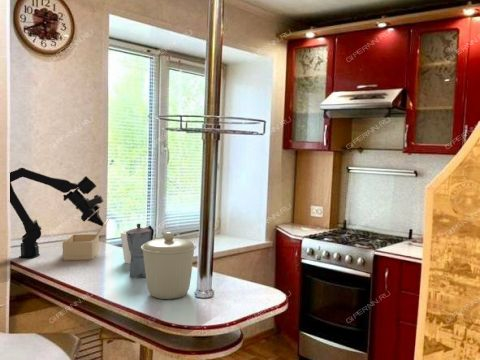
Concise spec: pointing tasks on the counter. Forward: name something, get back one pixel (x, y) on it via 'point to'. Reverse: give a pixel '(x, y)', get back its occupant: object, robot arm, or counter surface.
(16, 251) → the counter surface
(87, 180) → the robot arm
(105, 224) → the carton flap
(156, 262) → the canister
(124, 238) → the foam cup
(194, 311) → the counter surface
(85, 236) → the carton
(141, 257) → the moka pot
